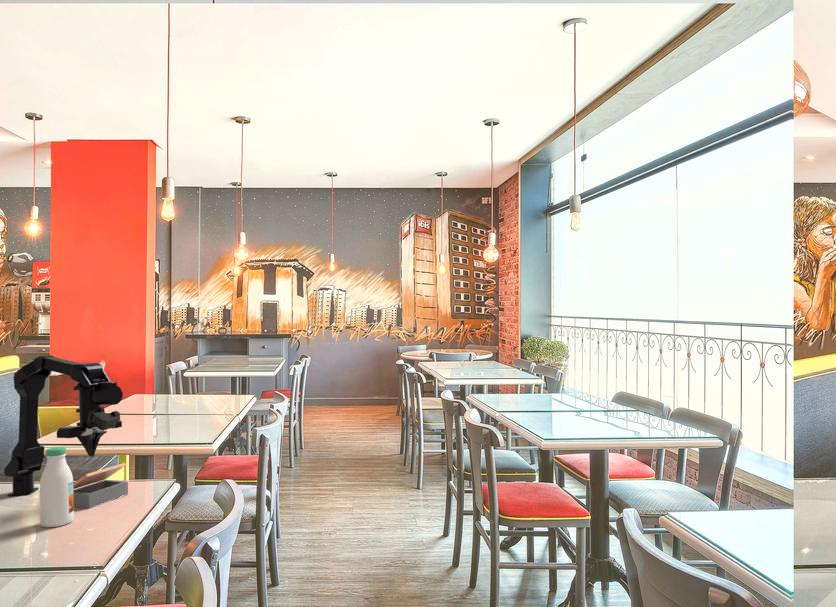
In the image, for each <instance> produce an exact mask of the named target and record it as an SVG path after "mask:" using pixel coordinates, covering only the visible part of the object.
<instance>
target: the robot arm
mask: <svg viewBox="0 0 836 607" xmlns="http://www.w3.org/2000/svg"><path fill="white" fill-rule="evenodd" d="M52 372H55V373H58V374H61V375H65V376H68V377H70V379H71V380H72V381H74V382H76V383H77V384H76V385H75V386H74V387H73V391H78V405H79V406H78V408H76V409H75V412H76V414H77V413H78V414H79V422H76V425H67V426H62V427H59V428H57V430H56V438H57V439H74V438H77V440H79V442H80V443H81V445H82V447H83V448H84V450H85V451H86V454H87V455H88V456H89V457H95V455H96V452H97V451H96V450H97V447H98V446H99V445H98V444H99V443H100V440H101V438H102V437H103V436H104V434H107V432H108V431H107V430H110V429H118V428H122V427H123V422H122V420H121V413H120V411H118V410H114V411H111V412H108V413H106V410H105V408H104V405H105V406H106V405H107V406H110V405H111V406H115V405H118V404H120V403H121V401H122V399H123V396H124V395H123V394H124V393H123V390H122V389H121V387H120V386H118V384H117V381H111V380H110V377H109V376H108V374H107V373H106V372H105V370H104V368H103V365H102V364H101V363H100V362H77V361H73V360H68V359H63V358H62V357H61V358H60V357H57V356H53V355H50V354H49V355H39V356H36V357H35V358H34V359H33V361H31V362H29V363H27V364H24V366H22V367H20V368H19V369H18V370H17V371H16V372H14V374H13V385H14V386H13V388H14V390H15V392H16V393H17V394H18V396H19V414H18V415H19V419H18V441H17V444H16V445H15V446H14V448H13V450H12V451H11V457H10V461H8V463H7V465H6V466H5V467H4V468H3V473H4V476H5V477H10V478H12V480H11V481H12V491H11V492H9V493H8V494H7V496H8V497H11V496H12V497H13V496H22V495H23V496H25V495H31V494H33V493H34V492H36V491H38V490H39V487H38V486H37V487H35V484H34V483H35V482H34V481H35V478H34V475H35V473H34V472H39V471H41V469H42V465H43V463H44V459H45V458H46V457H45V450H46V449H45V446H44V445H41V444H40V443H39V441H38V423H39V421H38V420H39V418H38V417H39V397H40V395H41V393H42V391H43V390H44V389H45V386H46V379H47V378H49V377H50V375H51V374H52ZM102 405H103V406H102Z"/></svg>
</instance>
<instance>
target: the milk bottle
mask: <svg viewBox="0 0 836 607" xmlns="http://www.w3.org/2000/svg"><path fill="white" fill-rule="evenodd" d="M45 450H46V451H45V455H46V457H45V458H46V459H47V460H46V464H45V467H44V470H43V471H42V474H41V476H40V482H39V509H40V510H39V512H40V513H39V516H40V517H39V518H40V521H39V522H40V526H41V527H42V528H55V527H61V526H64V525H68V524H70V523H72V522H73V521H74V519H75V507H74V493H73V490H74V489H73V483H74V476H73V472H72V471H71V469H70V467H69V465H68V463H67V460H66V456H67V448H66V447H65V446H54V447H50V448H47V449H45Z"/></svg>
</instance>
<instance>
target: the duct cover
mask: <svg viewBox="0 0 836 607" xmlns="http://www.w3.org/2000/svg"><path fill="white" fill-rule="evenodd" d="M125 466H127V464H126V462H124V463H123V462H122V463H120V464H116V465H112V466H110V467H106V468H103V469H102V468H101V469H99V470H96V471H93V472H89V473H85V474H84V475H83V476H82V477H81V478H78V479H77V480H76V481H75V482H73V490H75V489H78V488H81V487H85V486H88V485H91V484H94V483H97V482H100V481H104V480H108V478H110V477H111V476H113V475H114V474H116V473H117V472H118V471H119V470H122V469H123V468H124V467H125Z"/></svg>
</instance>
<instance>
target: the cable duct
mask: <svg viewBox="0 0 836 607" xmlns="http://www.w3.org/2000/svg"><path fill="white" fill-rule="evenodd" d="M73 493H74V508H83V509H92V508H95V507H97V506H96V505H98V506H100V505H102V504H101V503H103V504H105V503H104V502H106V503H108V502H107V501H109V500H112V499H114V498H117V497H120V496H122V495H125V494H128V495H129V481H125V480H115V479H113V480H111V479H104V480H101V481H98V482H95V483H92V484H88V485H85V486H82V487H79V488H76V489H73ZM120 498H121V497H120ZM117 499H118V498H117ZM114 500H115V499H114ZM112 501H113V500H112ZM109 502H110V501H109ZM99 504H100V505H99ZM94 506H95V507H94Z"/></svg>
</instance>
